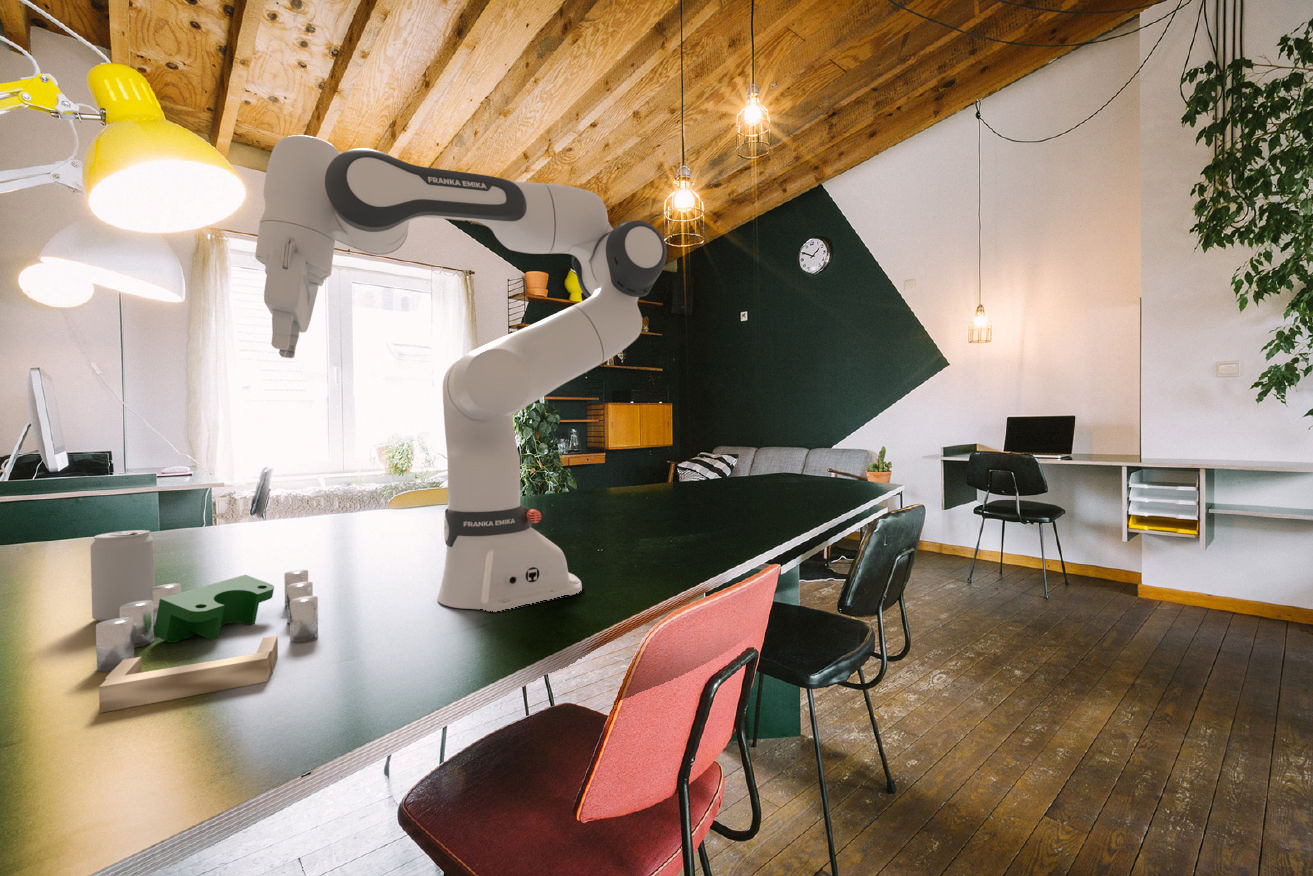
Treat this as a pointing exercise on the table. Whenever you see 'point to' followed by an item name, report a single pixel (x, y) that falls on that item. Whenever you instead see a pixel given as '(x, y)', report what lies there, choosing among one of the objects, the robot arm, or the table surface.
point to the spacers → (141, 616)
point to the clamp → (210, 608)
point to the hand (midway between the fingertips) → (283, 353)
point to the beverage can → (120, 571)
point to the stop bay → (184, 678)
